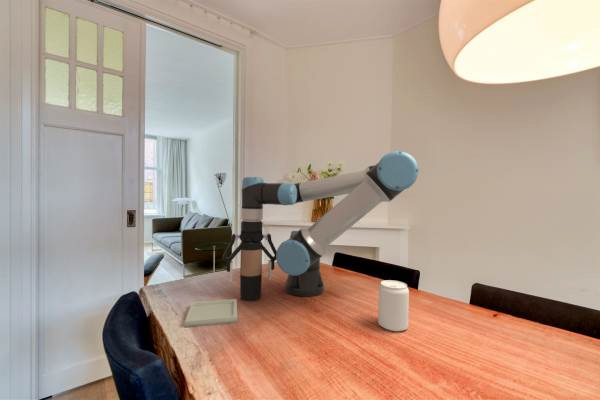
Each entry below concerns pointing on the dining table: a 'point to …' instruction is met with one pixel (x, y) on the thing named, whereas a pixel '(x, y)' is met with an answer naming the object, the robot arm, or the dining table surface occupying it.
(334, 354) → the dining table surface
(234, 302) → the tray
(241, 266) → the travel mug
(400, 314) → the beverage can
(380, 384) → the dining table surface
